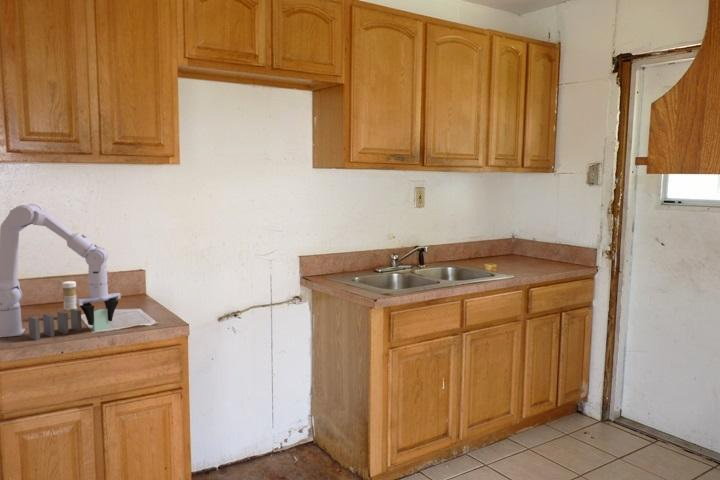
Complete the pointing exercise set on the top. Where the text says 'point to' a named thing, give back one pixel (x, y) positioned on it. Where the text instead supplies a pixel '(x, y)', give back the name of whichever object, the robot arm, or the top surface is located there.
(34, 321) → the domino
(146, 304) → the top surface
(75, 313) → the domino
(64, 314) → the domino
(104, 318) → the green domino
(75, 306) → the sprinkles bottle
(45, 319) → the domino
